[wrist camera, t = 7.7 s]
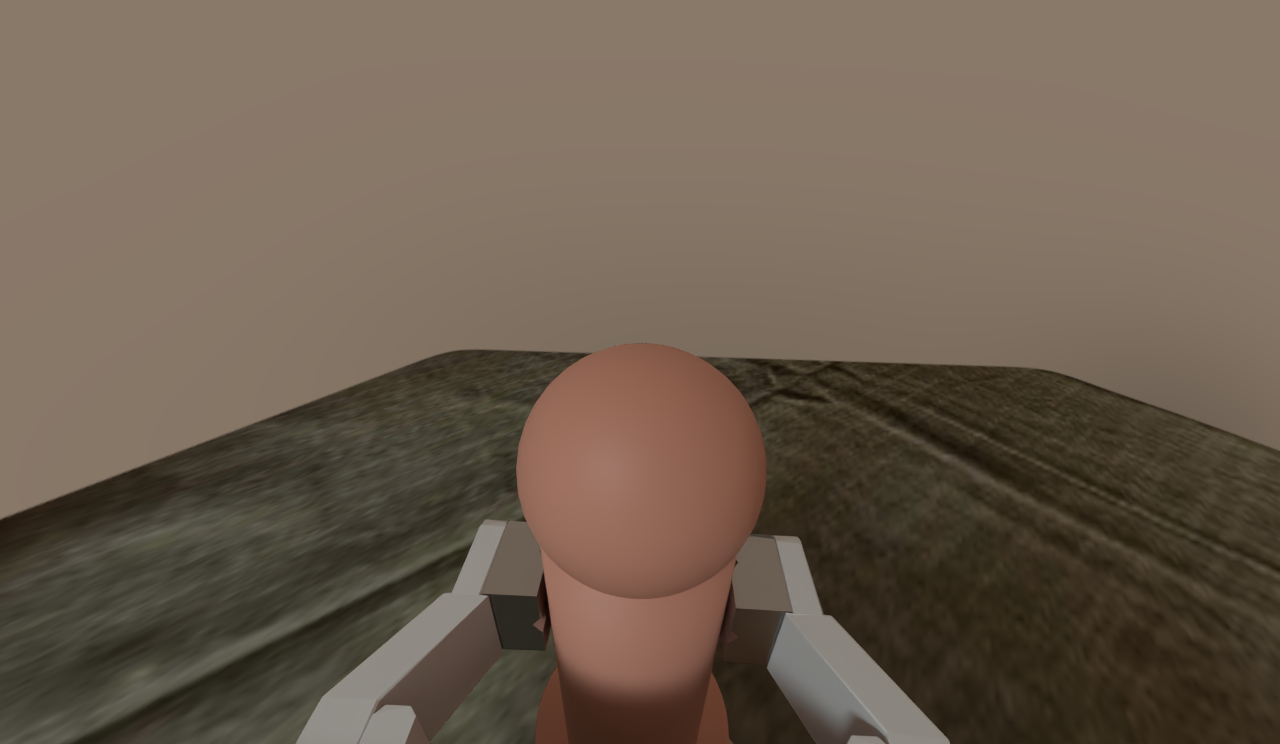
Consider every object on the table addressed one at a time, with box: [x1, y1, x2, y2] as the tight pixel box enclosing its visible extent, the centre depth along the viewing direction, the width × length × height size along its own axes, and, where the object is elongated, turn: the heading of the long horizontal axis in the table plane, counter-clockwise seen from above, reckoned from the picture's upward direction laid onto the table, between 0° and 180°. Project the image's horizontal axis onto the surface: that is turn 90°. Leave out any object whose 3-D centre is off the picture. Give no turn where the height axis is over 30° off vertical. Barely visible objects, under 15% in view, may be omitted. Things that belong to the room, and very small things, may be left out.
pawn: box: [516, 343, 767, 744], centre depth 9 cm, size 5×5×12 cm
